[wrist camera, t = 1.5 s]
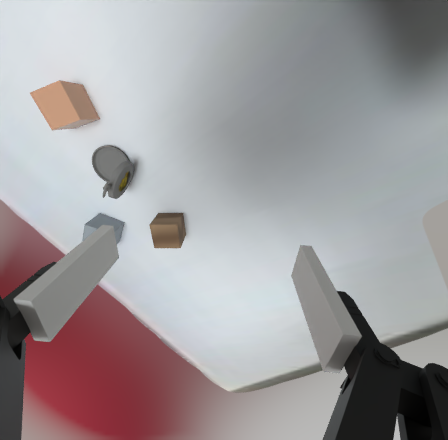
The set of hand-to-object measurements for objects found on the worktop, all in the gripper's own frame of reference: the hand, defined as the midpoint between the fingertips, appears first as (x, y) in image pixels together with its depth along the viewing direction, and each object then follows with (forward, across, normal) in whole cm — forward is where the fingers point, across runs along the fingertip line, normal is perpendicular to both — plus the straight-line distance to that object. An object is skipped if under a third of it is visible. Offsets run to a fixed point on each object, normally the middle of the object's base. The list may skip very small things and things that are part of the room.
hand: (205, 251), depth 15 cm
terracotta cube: (+25, -24, +8) cm, 36 cm away
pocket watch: (+25, -19, -2) cm, 32 cm away
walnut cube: (+25, -10, -12) cm, 30 cm away
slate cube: (+25, -23, -15) cm, 37 cm away
